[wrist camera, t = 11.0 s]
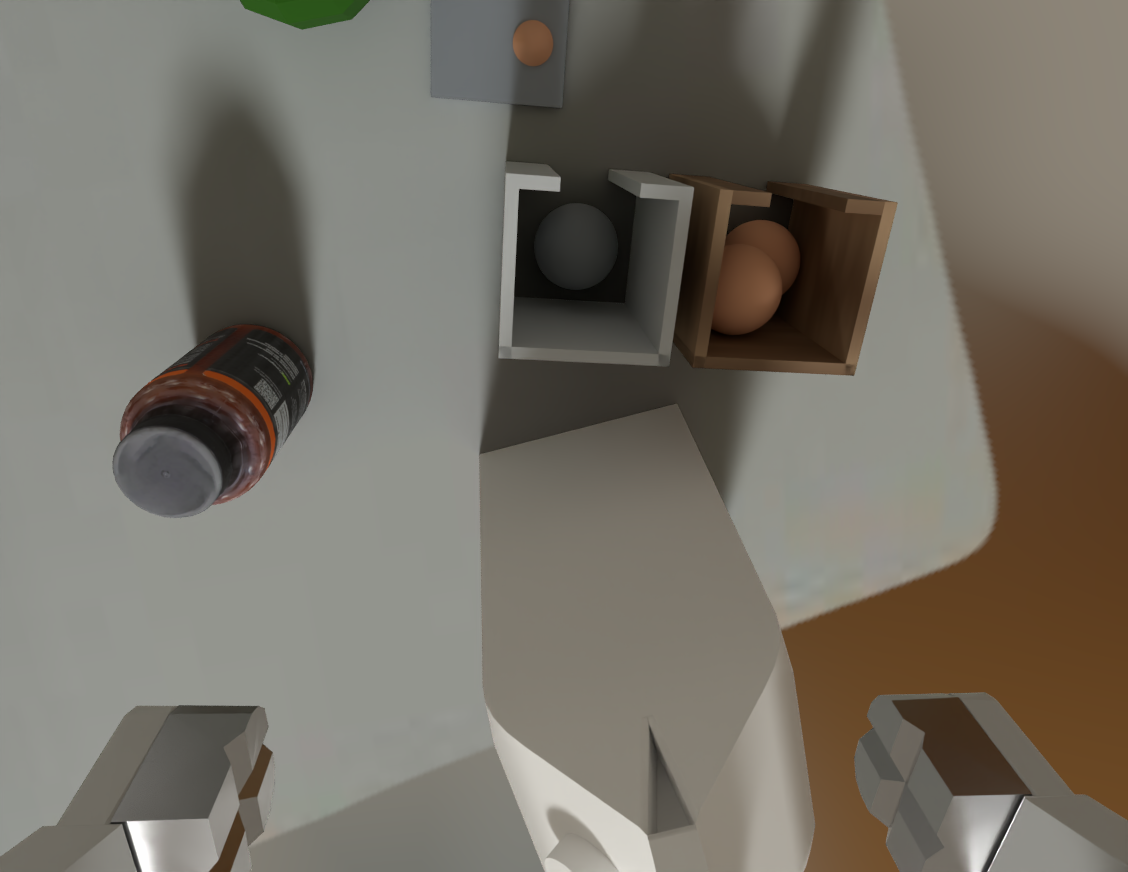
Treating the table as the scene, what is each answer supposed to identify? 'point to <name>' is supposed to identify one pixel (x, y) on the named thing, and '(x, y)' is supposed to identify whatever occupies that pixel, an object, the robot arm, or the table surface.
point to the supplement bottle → (212, 421)
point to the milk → (635, 659)
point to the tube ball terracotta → (770, 246)
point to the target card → (499, 50)
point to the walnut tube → (813, 302)
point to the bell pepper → (306, 11)
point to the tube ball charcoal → (576, 246)
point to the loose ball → (745, 290)
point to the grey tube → (589, 325)
